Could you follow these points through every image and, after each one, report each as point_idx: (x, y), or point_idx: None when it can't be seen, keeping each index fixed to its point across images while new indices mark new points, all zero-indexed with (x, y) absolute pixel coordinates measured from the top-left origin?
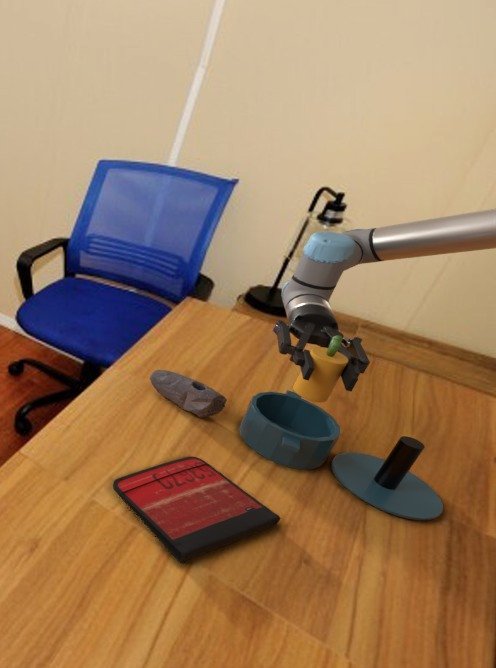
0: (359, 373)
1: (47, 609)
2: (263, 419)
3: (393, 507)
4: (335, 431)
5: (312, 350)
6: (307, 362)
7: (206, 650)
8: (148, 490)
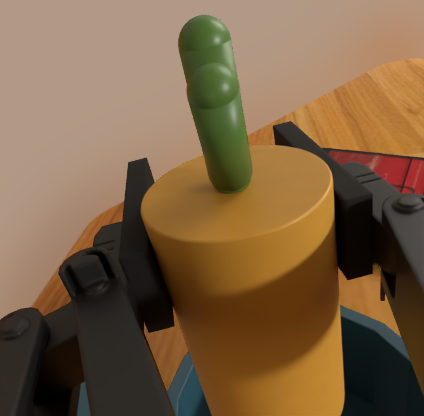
0: (101, 230)
1: (361, 104)
2: (355, 313)
3: (82, 385)
4: (177, 401)
5: (322, 162)
6: (307, 138)
7: (268, 139)
8: (395, 172)
